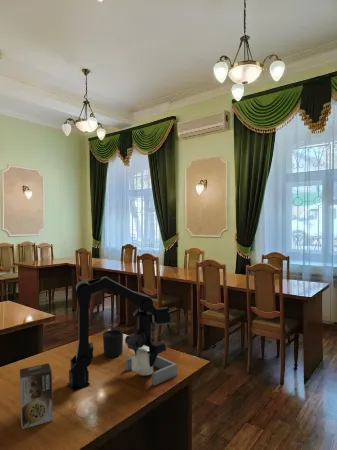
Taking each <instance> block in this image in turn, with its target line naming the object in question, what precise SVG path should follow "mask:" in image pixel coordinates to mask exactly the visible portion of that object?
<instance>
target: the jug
mask: <svg viewBox="0 0 337 450" xmlns="http://www.w3.org/2000/svg"><path fill="white" fill-rule="evenodd" d="M148 351H149V347H147V346H144V345H143V347H141V348H138V349H137V353H136V354H135V353H133V354H132V355H131V357H132V369H131V371H132V372H136V373H137V374H138V375H140V376H149V375H152V373H153V372H154V365H153V366H152V367H150V362H149V354H148V353H147V352H148Z"/></svg>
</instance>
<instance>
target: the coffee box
mask: <svg viewBox="0 0 337 450" xmlns="http://www.w3.org/2000/svg"><path fill="white" fill-rule="evenodd" d="M52 373H53V371H52V369H51V365H50V363H42V364H39V365H35V366H30V367H24V368H21V369H19V394H20V396H19V397H20V398H19V400H20V424H21V425H20V426H21V430H25V428H26V429H29V428H32V427H35V426H38V425H42V424H46V423H49V422H52V421H53V420H54V415H53V411H54V410H53V409H54V408H53V379H52V378H53V377H52V376H53V374H52Z"/></svg>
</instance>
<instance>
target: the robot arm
mask: <svg viewBox="0 0 337 450" xmlns="http://www.w3.org/2000/svg"><path fill="white" fill-rule="evenodd" d="M103 289H106V290H109V291H111V292H112V293H115V294H116V295H119V296H120V297H122V298H124V299H126V300H128V301H130V302H131V303H133V304H134V305H135V306H136V307H138V308H139V310H138V308H137V309H136V310H135V311H134V312H133V313H132V315H133V317H134V318H137V328H135V331H134V333H132V334H128V335H127V336H126V337H125V338H124V343H125V344H126V345H127V348H128V349H131V350H132V351H134V354H136V353H137V349H138V348H141V347H144V346H147V347H149V351H148V352H147V353H148V354H149V362H150V367H152V366H153V367H154V365H153V364H154V362H155V359H156V357H157V355H158V356H159V354H160V353H164V352H165V351H166V350H167V345H166V343H164V342H162V341H156V342H155V338H154V337H153V331H155V327H153V324H155V326H160V325H169V324H171V320H172V319H171V318H172V317H171V315H170V311H169V310H170V308H168V307H167V306H164V307H158V308H156V306H155V305H154V301H153V299H152V298H151V297H150V296H149V295H147V294H145V293H142V292H139V291H134V290H132V289H130V288H128V287H126V286H124V285H122V284H120V283H119V282H116V281H114V280H113V279H111V278H109V277H108V276H102V277H99V278H93V279H89V280H84V279H83V280H80V281H78V282H77V283H76V285H75V293H76V297H77V302H78V342H77V345H76V351H75V355H74V356H73V357H72V358H71V359H70V362H69V365H70V369H68V382H67V383H66V385H67V386H68V387H69V388H70V389H72V390H73V391H75V392H76V391H78V390H80V389H83V388H86V387H89V386H90V384H91V383H90V382H89V381H90V380H89V379H90V376H89V375H90V374H89V373H90V371H89V369H88V367H89V366H90V365H91V364H92V360H93V359H95V358H94V354H93V353H94V344H93V342H89V340H90V339H89V338H90V336H89V334H90V333H89V332H90V330H89V327H90V326H89V325H90V324H89V323H90V321H89V315H90V313H89V312H90V311H89V307H90V301H91V299H92V294H95V293H97V292H100V291H101V290H102V291H103Z"/></svg>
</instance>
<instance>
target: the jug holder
mask: <svg viewBox="0 0 337 450" xmlns="http://www.w3.org/2000/svg"><path fill="white" fill-rule="evenodd" d="M153 367H156V368H158V370H156V371H153V373H152V374H151V385H152V386H156V385H158V384H160V383H163V382H165V381H167V380H169V379H172V378H174V377H176V376H178V364H177V363H175V362H173V361H171V360H169V359H167V358H165V357H162V356H159V354H158V355H157V357H156V359H155V362H154V364H153ZM125 370H126V371H130V370H132V356H130V357H128V358H126V359H125Z"/></svg>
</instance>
